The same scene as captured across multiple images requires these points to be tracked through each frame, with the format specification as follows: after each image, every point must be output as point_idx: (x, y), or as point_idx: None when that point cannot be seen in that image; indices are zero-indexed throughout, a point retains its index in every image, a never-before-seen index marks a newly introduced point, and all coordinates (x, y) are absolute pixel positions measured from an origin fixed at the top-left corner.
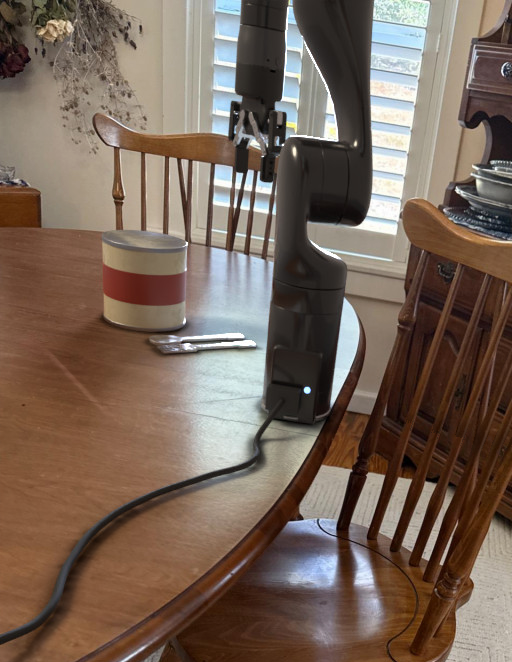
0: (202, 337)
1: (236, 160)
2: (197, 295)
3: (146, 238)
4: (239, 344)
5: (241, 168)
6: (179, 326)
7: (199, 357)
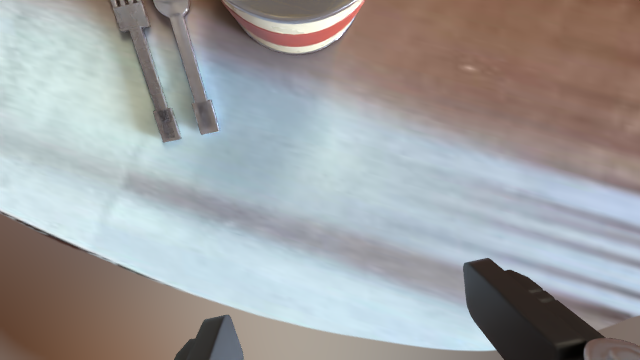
0: (184, 58)
1: (498, 291)
2: (458, 122)
3: None
4: (156, 113)
5: (477, 296)
6: (246, 32)
7: (104, 32)
